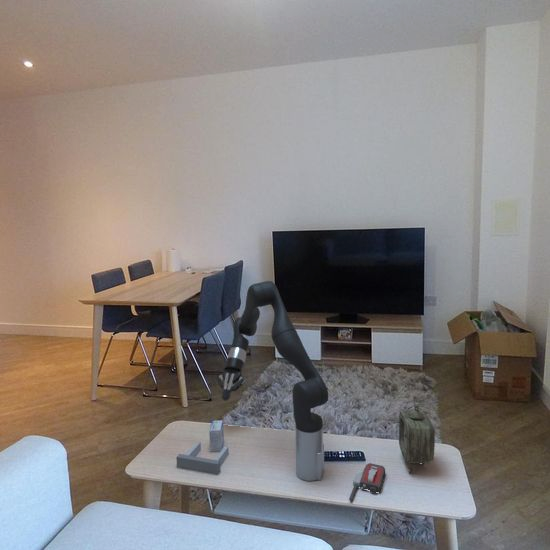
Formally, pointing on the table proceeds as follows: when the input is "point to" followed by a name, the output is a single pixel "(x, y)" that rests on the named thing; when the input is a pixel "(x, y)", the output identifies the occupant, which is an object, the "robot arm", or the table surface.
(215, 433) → the medicine box
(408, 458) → the olive fabric tall bag
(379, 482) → the walkie-talkie
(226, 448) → the dock
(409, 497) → the table surface
